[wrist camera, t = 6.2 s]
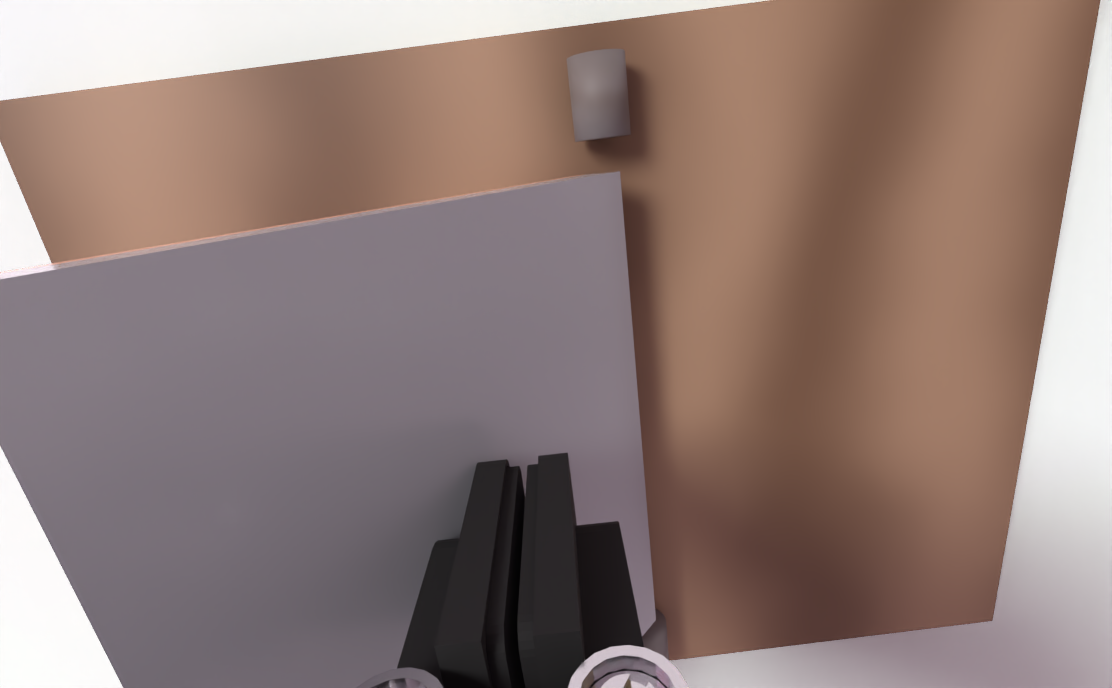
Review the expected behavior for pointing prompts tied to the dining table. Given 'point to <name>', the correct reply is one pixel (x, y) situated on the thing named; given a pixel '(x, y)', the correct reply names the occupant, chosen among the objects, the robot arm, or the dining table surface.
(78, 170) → the hinge board
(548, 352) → the tile
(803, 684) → the dining table surface
